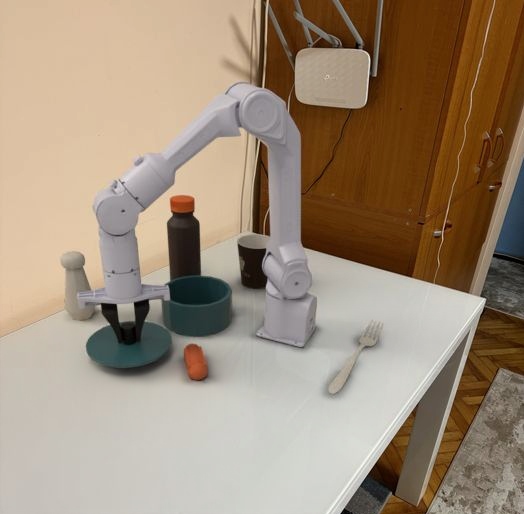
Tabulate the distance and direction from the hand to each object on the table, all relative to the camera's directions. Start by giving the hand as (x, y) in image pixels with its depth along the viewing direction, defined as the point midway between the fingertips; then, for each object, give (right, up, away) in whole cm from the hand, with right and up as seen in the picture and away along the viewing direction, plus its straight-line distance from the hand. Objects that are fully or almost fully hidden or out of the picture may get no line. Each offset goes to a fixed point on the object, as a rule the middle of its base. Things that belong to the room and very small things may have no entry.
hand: (129, 339), depth 88 cm
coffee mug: (+21, +13, +30) cm, 39 cm away
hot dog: (+11, -5, -1) cm, 13 cm away
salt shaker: (-13, +4, +13) cm, 19 cm away
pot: (+10, +4, +14) cm, 17 cm away
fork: (+40, -4, +4) cm, 40 cm away
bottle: (+6, +11, +25) cm, 28 cm away
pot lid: (0, -1, +1) cm, 1 cm away
